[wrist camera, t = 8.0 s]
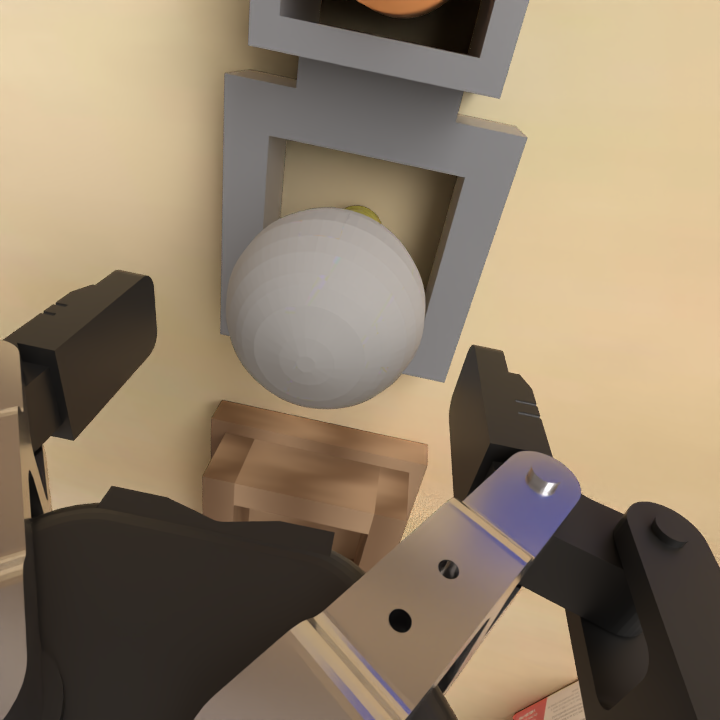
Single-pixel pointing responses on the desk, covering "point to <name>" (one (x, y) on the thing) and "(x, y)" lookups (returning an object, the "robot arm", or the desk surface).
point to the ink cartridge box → (556, 706)
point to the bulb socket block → (377, 138)
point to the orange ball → (403, 7)
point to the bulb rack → (313, 478)
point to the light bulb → (325, 307)
